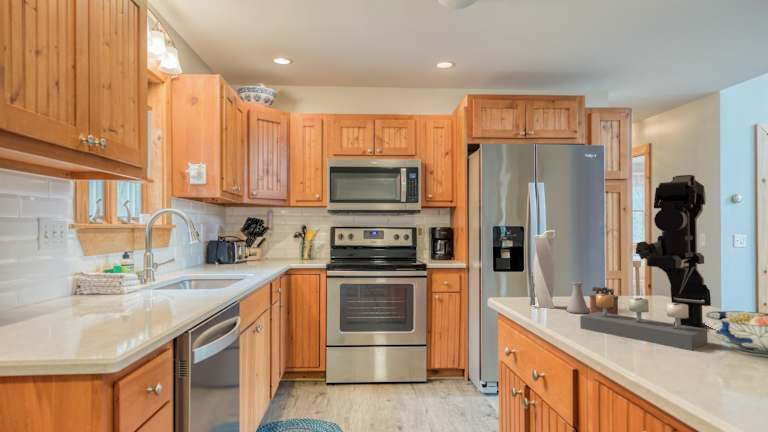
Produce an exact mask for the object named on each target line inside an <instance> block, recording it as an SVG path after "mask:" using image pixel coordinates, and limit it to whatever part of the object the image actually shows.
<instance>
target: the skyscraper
mask: <svg viewBox="0 0 768 432" xmlns="http://www.w3.org/2000/svg"><path fill="white" fill-rule="evenodd" d="M551 232H553V235H552V236H549V234H547V233H551ZM556 232H557V231H556V230H553V229H550V230H546V231H544V232H543V233H542V234H535V235H533V237H532V239H533V243H534V246H535V247H534V248H535V255H534V261H533V271H531V276H530V278H531V281H530V302H529V305H530V307H532V308H533V307H534V308H533V309H539V308H550V309H553V310H554V309H556V307H555V305H554V302H553V297H554V291H555V286H556V285H555V284H556V283H555V282H556V265H555V258H554V254H553V248H554V247H553V246H554V242H555V241H554V239H555V236H556ZM535 304H536V306H532V305H535Z"/></svg>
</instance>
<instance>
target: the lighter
mask: <svg viewBox="0 0 768 432" xmlns="http://www.w3.org/2000/svg"><path fill="white" fill-rule="evenodd" d="M591 291H592V292H595V293H589V303H590V305H589V312H590V313H589V314H591V313H595V312H603V307H600V306H597V305H596V294H610V295H613V296H614V307H607V313H610V314H616V315H619V304H618V303H619V302H618V300H619V296H618V295H614V293H615V289H614V288H608V287H606V286H603V287H600V286H599V287H598V286H592V287H591Z"/></svg>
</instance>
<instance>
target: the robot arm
mask: <svg viewBox="0 0 768 432" xmlns="http://www.w3.org/2000/svg"><path fill="white" fill-rule="evenodd" d="M653 201H654V202H653V209H655V210H656V209H659V210H658V211H657V213H656V214H655V216H654V218H653V219H654V220H653V221H654V225H655V227H656V228H657V229H658V230H660V231H661V235H658V237H657V241H656V242H653V243H651V242H650V243H648V242H647V241H644V240H643V241H640V242H636V248H635V254H636V255H639V258H640V260H641V261H642V260H644V259H645V260H646V267H650V268H651V267H653V268H654V267H655V268H658V269H660V270H662V272H664V273H665V274H666V276H667V279H668V281H669V285H670V297H671V298H670V300H671V303H682V304H687V305H688V316H689V318H680V322H681V325H684V326H691V327H697V328H703V327H706V326H705V323H706V322H703V319H704V318H703V306H704V307H708V306H709V307H711V306H712V303H711V301H712V300H711V298H712V297H711V290H710V288H709V287H708V285H707V284H705V278H704V277H703V276H702V274H701V273H700V271H699V270H698V265H704V264H705V256H704V255H703V254H702V253H701V252H698V239H697V238H698V235H697V234H698V233H697V222H698V221H697V220H698V218H699V217H700V216H701V214H702V212H703V211H704V206H705V205H706V202H707V201H706V191H705V186H704V185H703V184H702V183H700V182H699V181H697V180H696V176H695V175H692V174H685V175H684V174H683V175H682V174H681V175H675V176H673V177H672V180H671V181H666V182H660V183H658V186H657V187H655V192H654V200H653ZM673 324H675V321H674V322H673Z"/></svg>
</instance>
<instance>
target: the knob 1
mask: <svg viewBox="0 0 768 432" xmlns="http://www.w3.org/2000/svg"><path fill="white" fill-rule="evenodd" d="M595 294H596V293H595ZM613 295H614V294H613ZM613 295H611V294H610V293H609V294H601V293H599V294H596V305H597V306H600V307H603V317H607V307H614V296H613Z"/></svg>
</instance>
